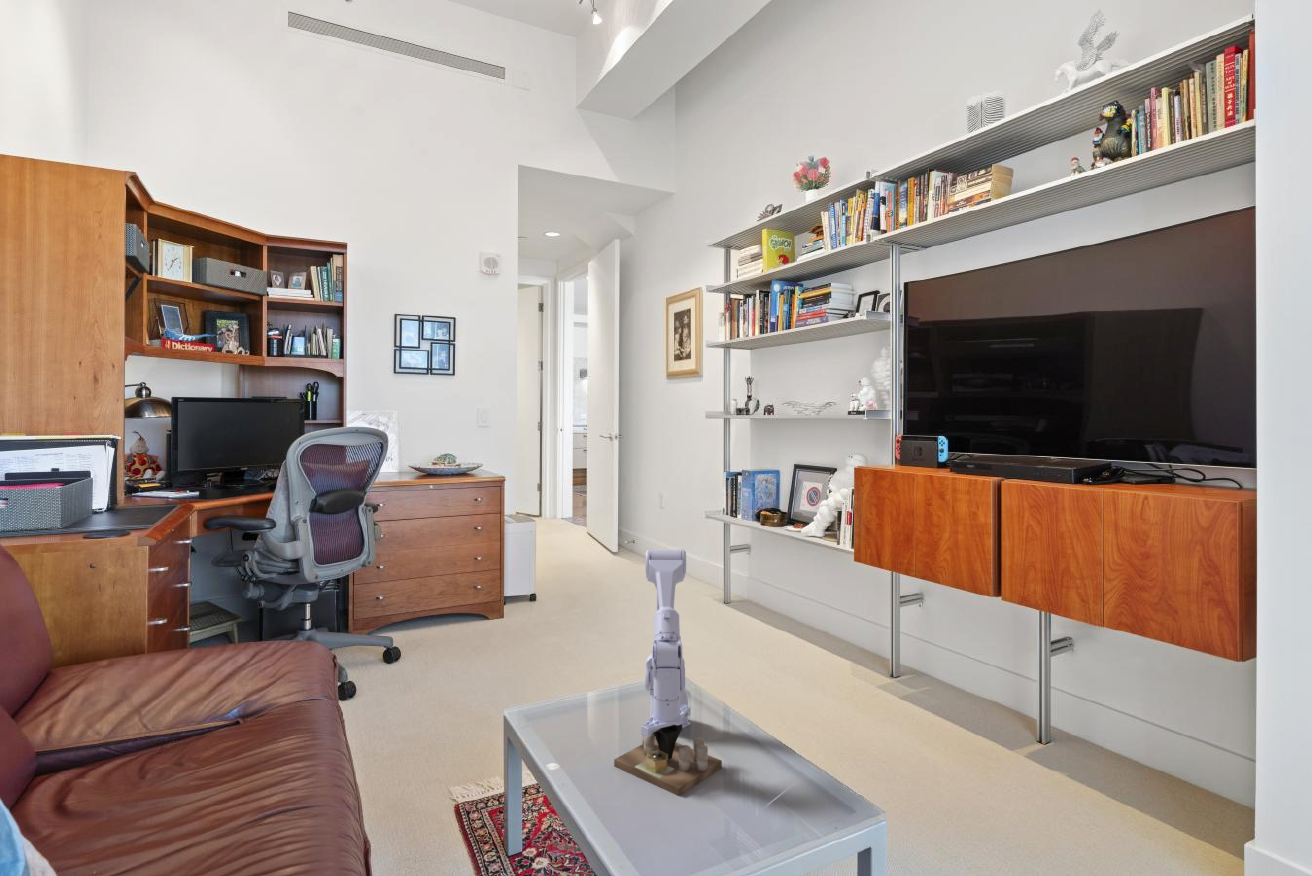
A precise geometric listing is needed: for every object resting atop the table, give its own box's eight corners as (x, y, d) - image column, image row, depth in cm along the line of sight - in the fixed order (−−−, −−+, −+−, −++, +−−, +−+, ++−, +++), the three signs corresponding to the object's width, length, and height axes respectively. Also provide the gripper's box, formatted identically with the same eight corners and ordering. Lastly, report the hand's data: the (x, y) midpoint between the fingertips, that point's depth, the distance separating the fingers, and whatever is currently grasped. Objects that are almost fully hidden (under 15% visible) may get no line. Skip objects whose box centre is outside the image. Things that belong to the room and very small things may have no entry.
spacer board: (658, 741, 164) (658, 716, 163) (721, 767, 152) (721, 740, 152) (614, 766, 152) (614, 739, 152) (678, 795, 141) (678, 766, 140)
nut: (654, 759, 152) (654, 748, 152) (672, 766, 149) (672, 755, 149) (641, 767, 149) (641, 755, 149) (659, 775, 146) (659, 763, 146)
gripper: (659, 712, 143) (658, 777, 143) (701, 690, 154) (701, 751, 154) (633, 702, 148) (633, 765, 148) (676, 682, 159) (676, 741, 159)
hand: (666, 757), depth 152 cm, fingers closed
